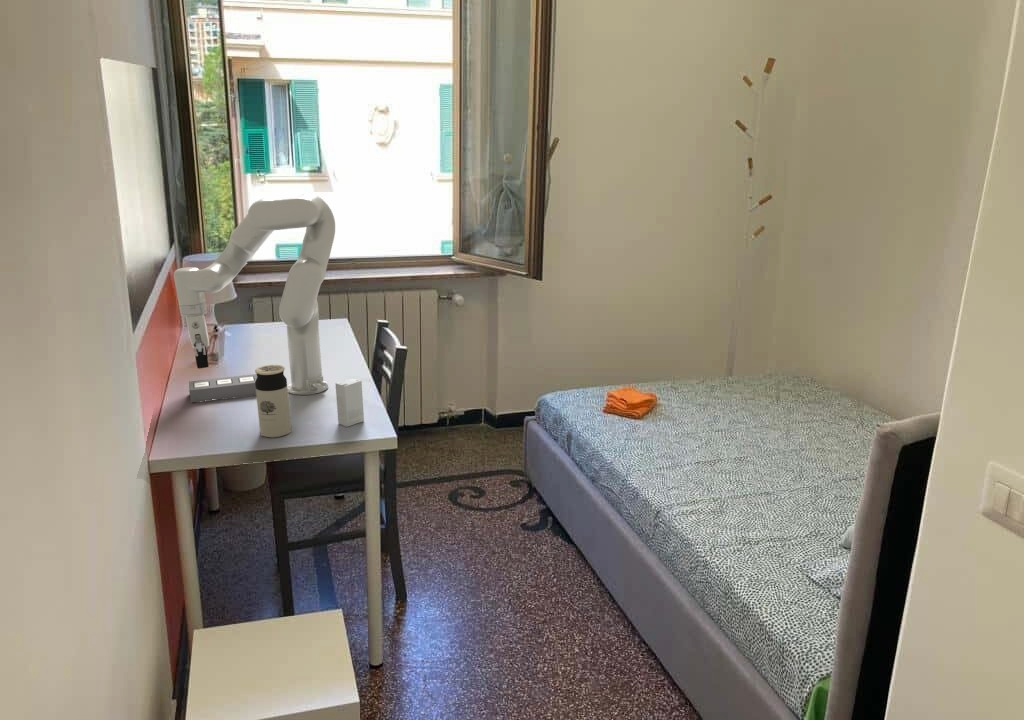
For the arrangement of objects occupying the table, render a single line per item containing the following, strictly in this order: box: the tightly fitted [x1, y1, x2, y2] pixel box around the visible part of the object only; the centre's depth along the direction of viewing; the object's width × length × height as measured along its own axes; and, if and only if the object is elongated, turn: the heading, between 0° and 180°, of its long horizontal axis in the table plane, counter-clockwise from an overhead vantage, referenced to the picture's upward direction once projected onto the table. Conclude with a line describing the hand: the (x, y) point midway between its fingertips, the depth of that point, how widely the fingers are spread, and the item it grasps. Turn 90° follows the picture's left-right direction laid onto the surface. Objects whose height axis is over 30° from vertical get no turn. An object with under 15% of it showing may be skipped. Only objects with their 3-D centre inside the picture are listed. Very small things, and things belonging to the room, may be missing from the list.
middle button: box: [217, 379, 232, 385], centre depth 238 cm, size 4×4×3 cm
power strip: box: [188, 373, 257, 403], centre depth 238 cm, size 21×9×4 cm, turn 112°
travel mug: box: [254, 364, 292, 438], centre depth 206 cm, size 8×8×18 cm
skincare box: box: [335, 377, 365, 427], centre depth 214 cm, size 6×4×12 cm
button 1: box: [194, 382, 209, 388], centre depth 236 cm, size 4×4×3 cm
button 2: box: [239, 377, 254, 382], centre depth 240 cm, size 4×4×3 cm
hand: (202, 363), depth 238 cm, fingers open, 9 cm apart
